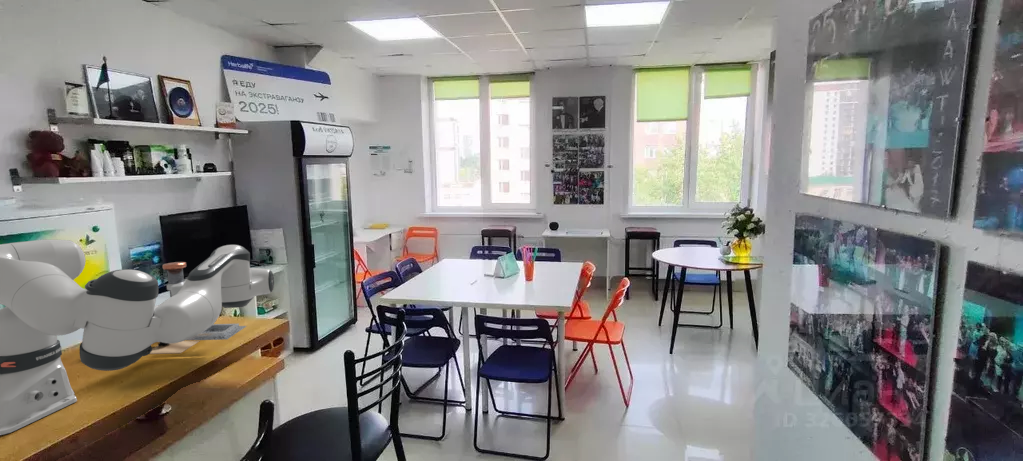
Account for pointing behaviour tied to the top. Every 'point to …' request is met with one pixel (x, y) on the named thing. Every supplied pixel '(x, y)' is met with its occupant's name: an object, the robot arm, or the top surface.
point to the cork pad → (173, 347)
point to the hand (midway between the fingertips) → (173, 284)
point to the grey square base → (218, 332)
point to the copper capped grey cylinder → (175, 272)
